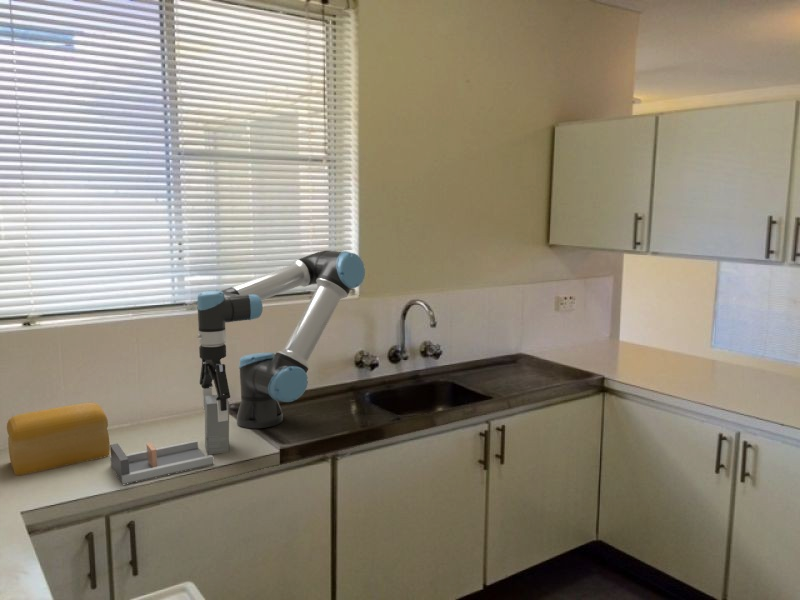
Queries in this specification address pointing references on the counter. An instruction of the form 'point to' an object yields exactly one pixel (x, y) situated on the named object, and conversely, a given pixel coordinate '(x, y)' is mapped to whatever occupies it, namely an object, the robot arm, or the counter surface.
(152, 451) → the block
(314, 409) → the counter surface
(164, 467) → the lane
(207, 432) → the skincare box
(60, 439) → the bread
